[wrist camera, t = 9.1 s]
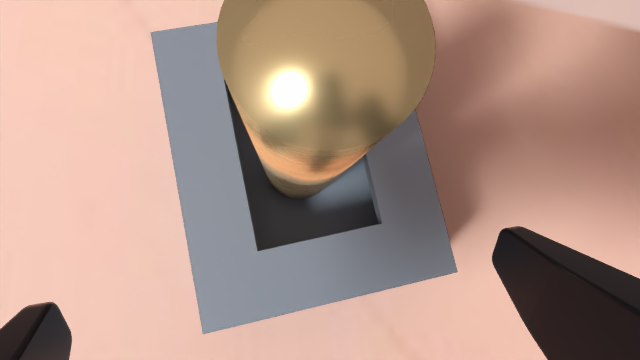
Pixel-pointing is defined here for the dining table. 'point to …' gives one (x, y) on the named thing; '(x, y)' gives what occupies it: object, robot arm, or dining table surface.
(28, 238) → the dining table surface
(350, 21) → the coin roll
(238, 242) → the grey socket block
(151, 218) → the dining table surface
